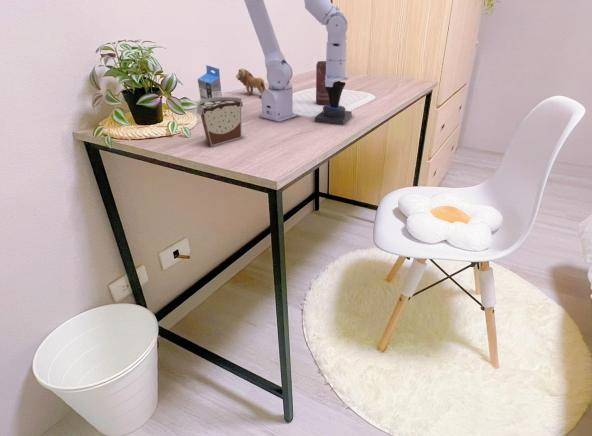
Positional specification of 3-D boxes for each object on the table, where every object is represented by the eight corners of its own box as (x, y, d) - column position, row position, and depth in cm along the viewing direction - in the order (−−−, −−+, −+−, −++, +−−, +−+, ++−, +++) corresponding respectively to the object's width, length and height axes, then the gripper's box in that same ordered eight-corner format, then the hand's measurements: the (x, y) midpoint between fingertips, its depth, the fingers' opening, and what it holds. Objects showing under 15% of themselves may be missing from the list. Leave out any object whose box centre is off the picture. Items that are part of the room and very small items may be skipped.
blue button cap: (338, 115, 114) (338, 109, 112) (326, 114, 114) (326, 107, 113) (341, 112, 117) (341, 106, 116) (329, 110, 118) (329, 104, 117)
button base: (343, 125, 111) (343, 113, 109) (314, 122, 113) (314, 110, 111) (351, 116, 120) (352, 105, 118) (325, 113, 122) (325, 102, 120)
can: (333, 106, 131) (334, 63, 123) (315, 105, 131) (315, 62, 123) (333, 101, 136) (335, 61, 129) (316, 101, 136) (317, 60, 129)
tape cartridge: (200, 104, 126) (194, 65, 119) (211, 102, 128) (206, 64, 122) (213, 110, 120) (208, 69, 114) (224, 108, 123) (219, 68, 116)
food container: (231, 131, 102) (227, 94, 97) (246, 136, 99) (242, 98, 94) (191, 141, 94) (185, 101, 89) (206, 147, 90) (200, 106, 85)
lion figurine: (235, 94, 141) (233, 68, 136) (244, 91, 145) (242, 67, 140) (266, 99, 135) (265, 73, 131) (275, 96, 139) (274, 71, 135)
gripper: (343, 64, 101) (340, 114, 108) (354, 57, 113) (352, 102, 120) (318, 62, 102) (317, 111, 109) (332, 56, 114) (331, 100, 121)
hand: (334, 106), depth 115 cm, fingers closed, pressing on blue button cap
